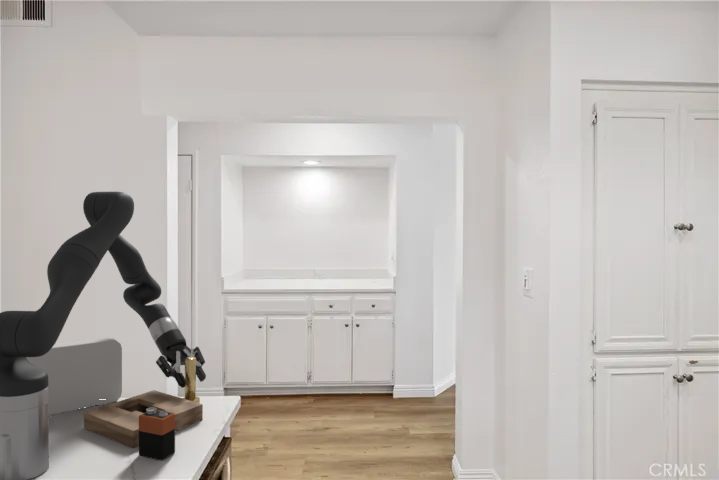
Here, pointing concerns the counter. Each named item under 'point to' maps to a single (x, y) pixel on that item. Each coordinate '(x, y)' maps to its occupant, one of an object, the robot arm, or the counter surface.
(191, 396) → the brass peg
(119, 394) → the grey rounded panel
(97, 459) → the counter surface
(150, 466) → the counter surface
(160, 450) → the battery
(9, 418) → the robot arm
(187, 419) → the walnut keyhole plate
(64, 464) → the counter surface
